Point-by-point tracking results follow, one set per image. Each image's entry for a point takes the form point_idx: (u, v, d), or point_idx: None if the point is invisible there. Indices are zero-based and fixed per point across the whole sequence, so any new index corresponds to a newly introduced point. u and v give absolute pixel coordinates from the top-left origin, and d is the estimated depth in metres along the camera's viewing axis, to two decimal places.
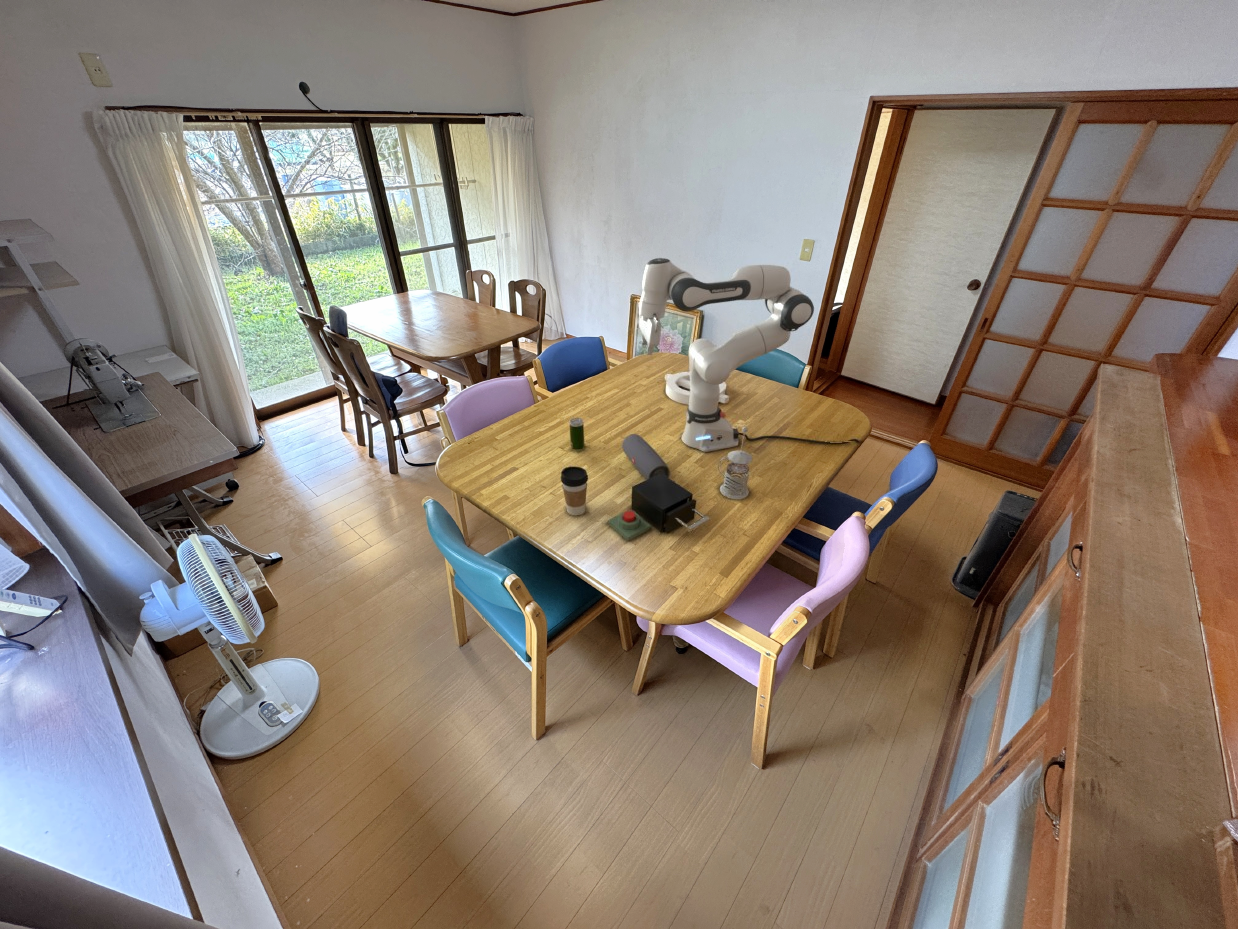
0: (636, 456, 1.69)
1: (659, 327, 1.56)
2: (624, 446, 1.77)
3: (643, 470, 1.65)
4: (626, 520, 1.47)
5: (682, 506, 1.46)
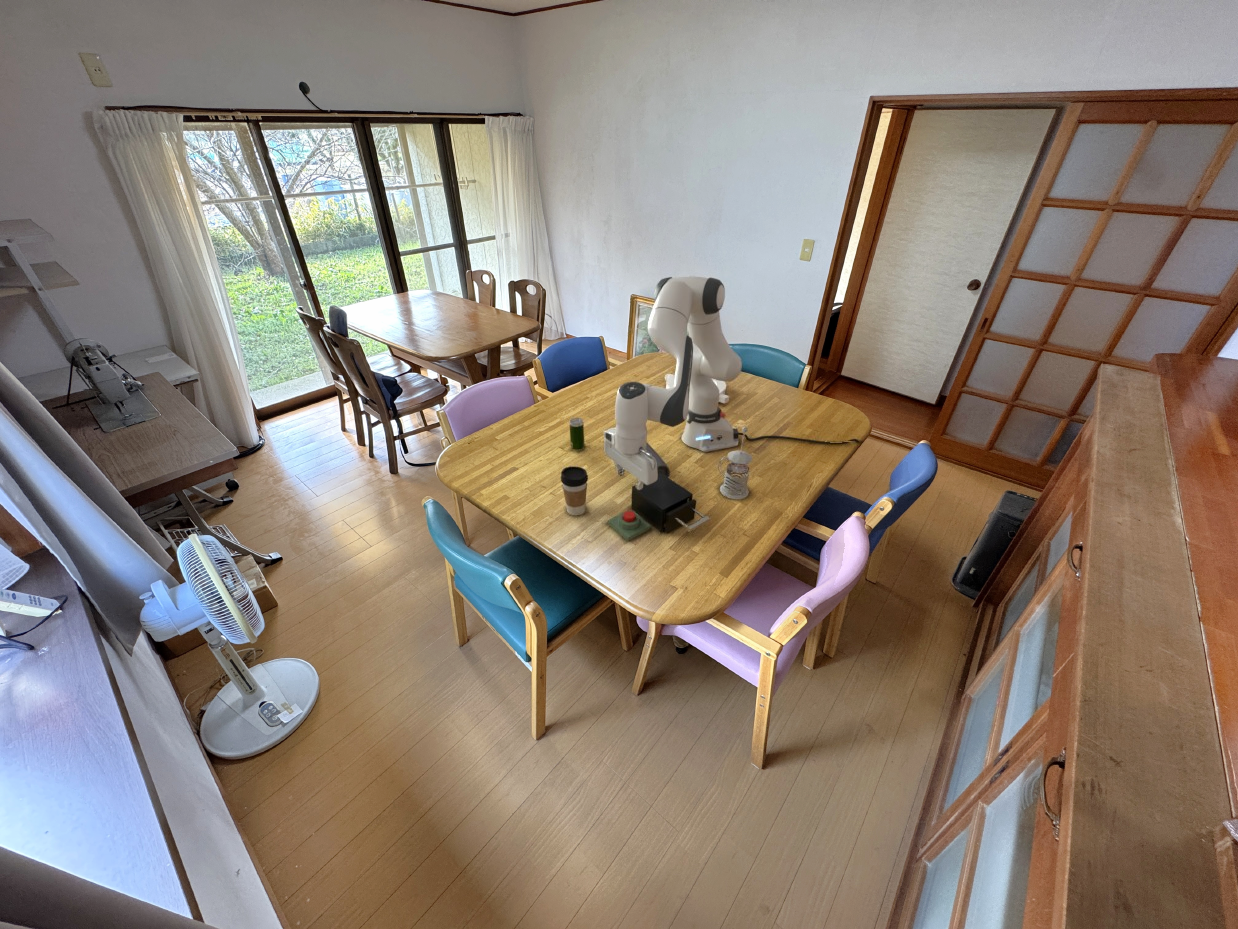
0: None
1: None
2: None
3: None
4: (626, 520, 1.47)
5: (682, 506, 1.46)
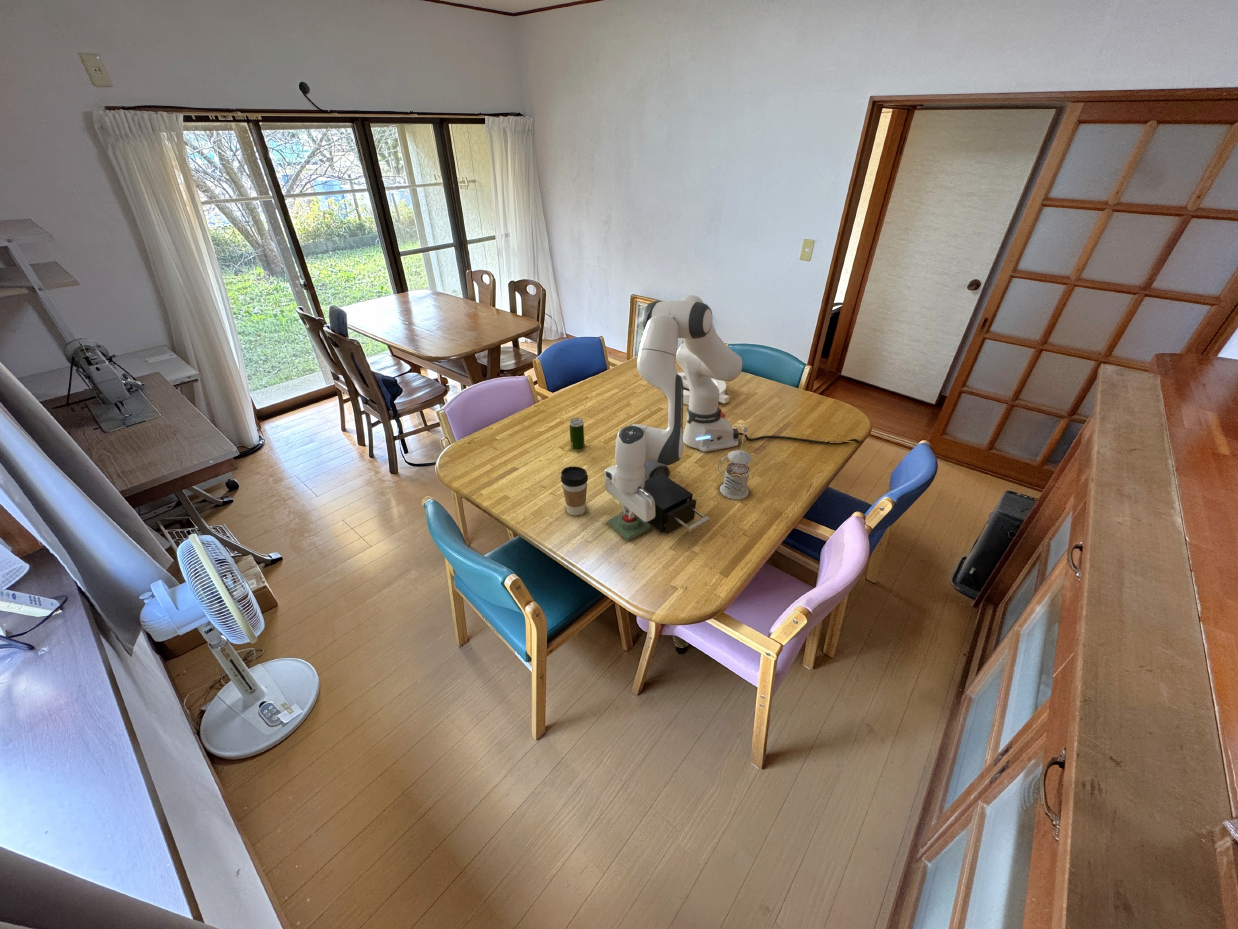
0: None
1: None
2: None
3: None
4: None
5: (682, 506, 1.46)
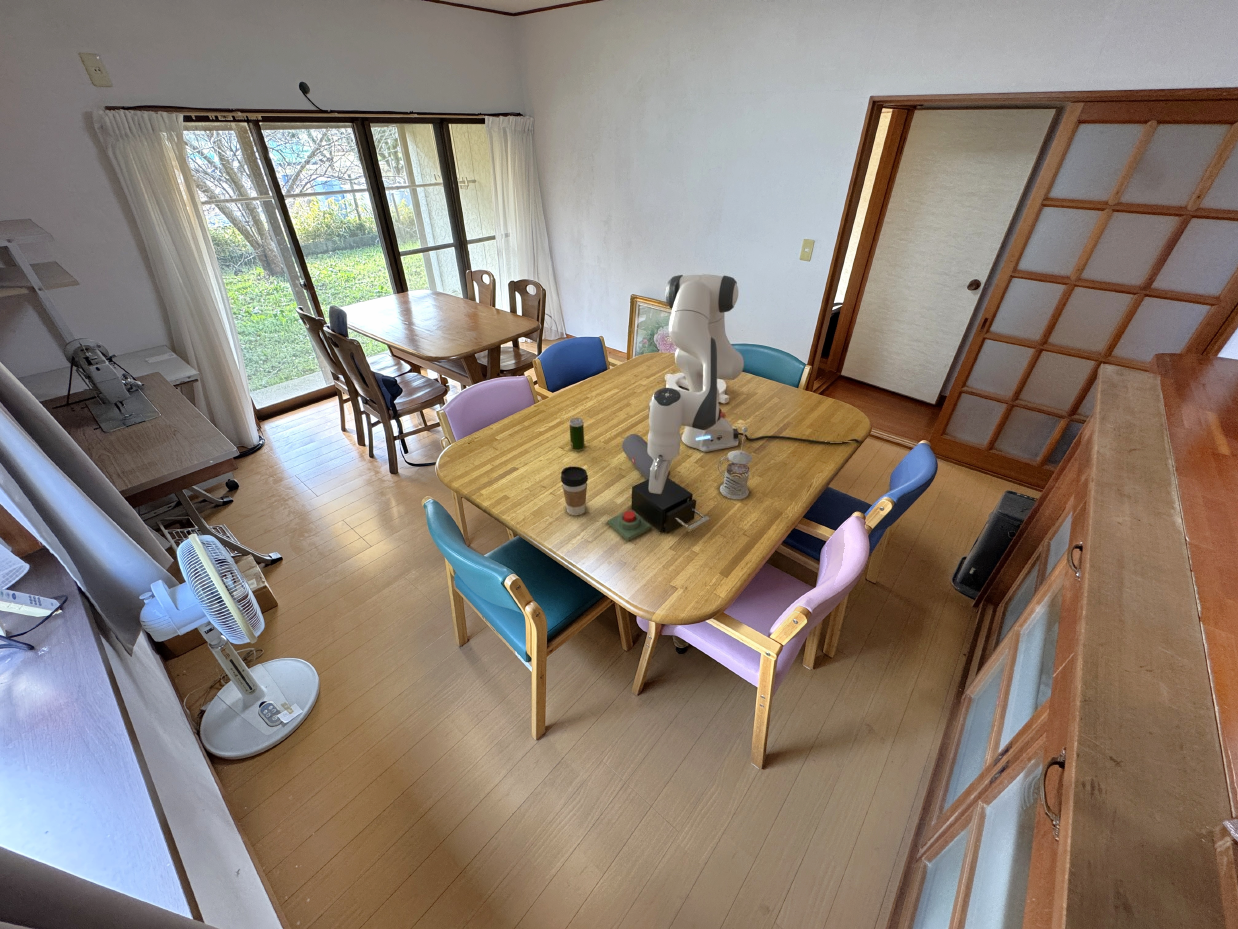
0: (636, 456, 1.69)
1: (660, 474, 1.26)
2: (624, 446, 1.77)
3: (643, 470, 1.65)
4: (626, 520, 1.47)
5: (682, 506, 1.46)
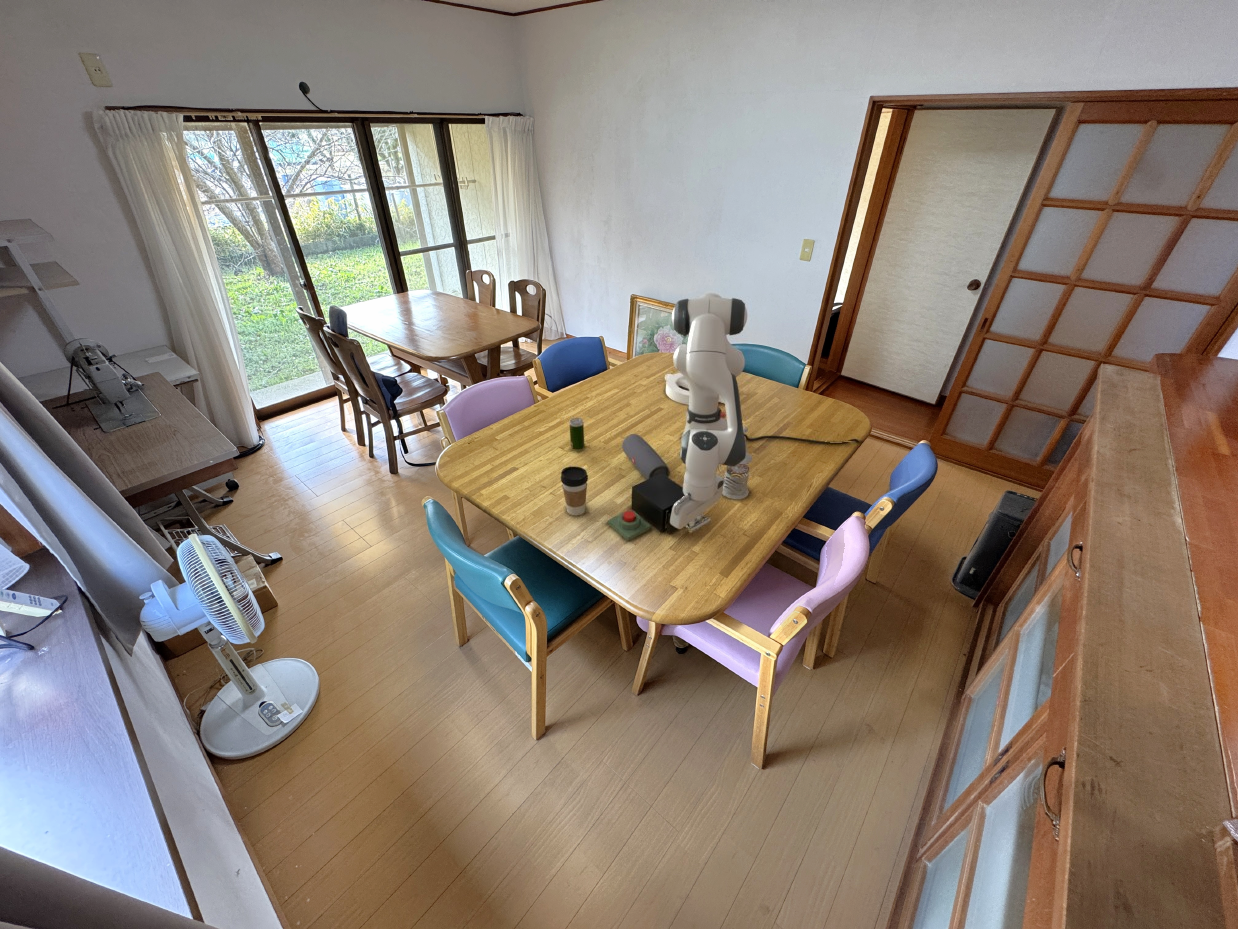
0: (636, 456, 1.69)
1: (680, 511, 1.31)
2: (624, 446, 1.77)
3: (643, 470, 1.65)
4: (626, 520, 1.47)
5: None
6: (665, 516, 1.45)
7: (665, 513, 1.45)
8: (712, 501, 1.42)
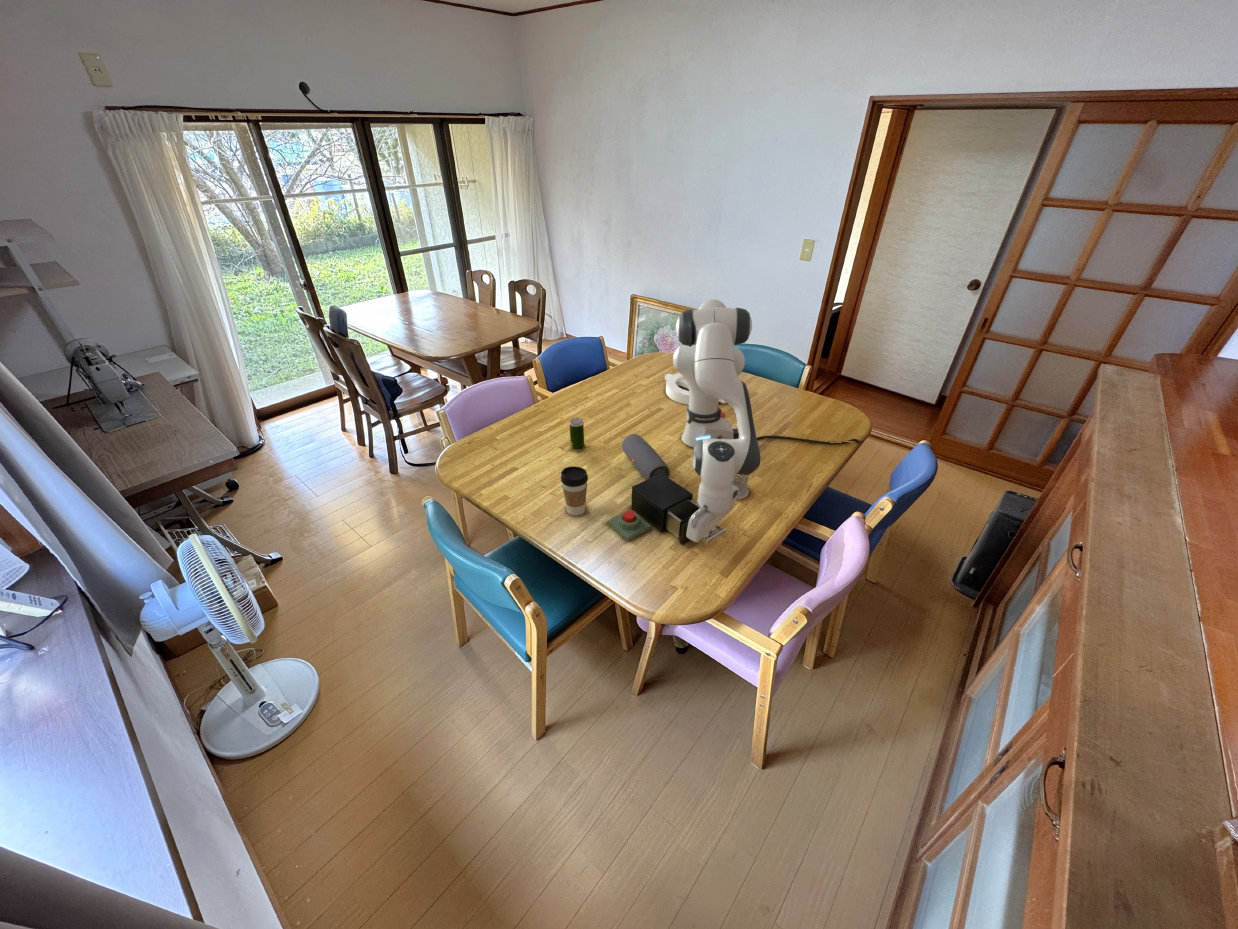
0: (636, 456, 1.69)
1: (697, 524, 1.27)
2: (624, 446, 1.77)
3: (643, 470, 1.65)
4: (626, 520, 1.47)
5: None
6: (678, 526, 1.42)
7: (678, 523, 1.41)
8: (726, 511, 1.39)
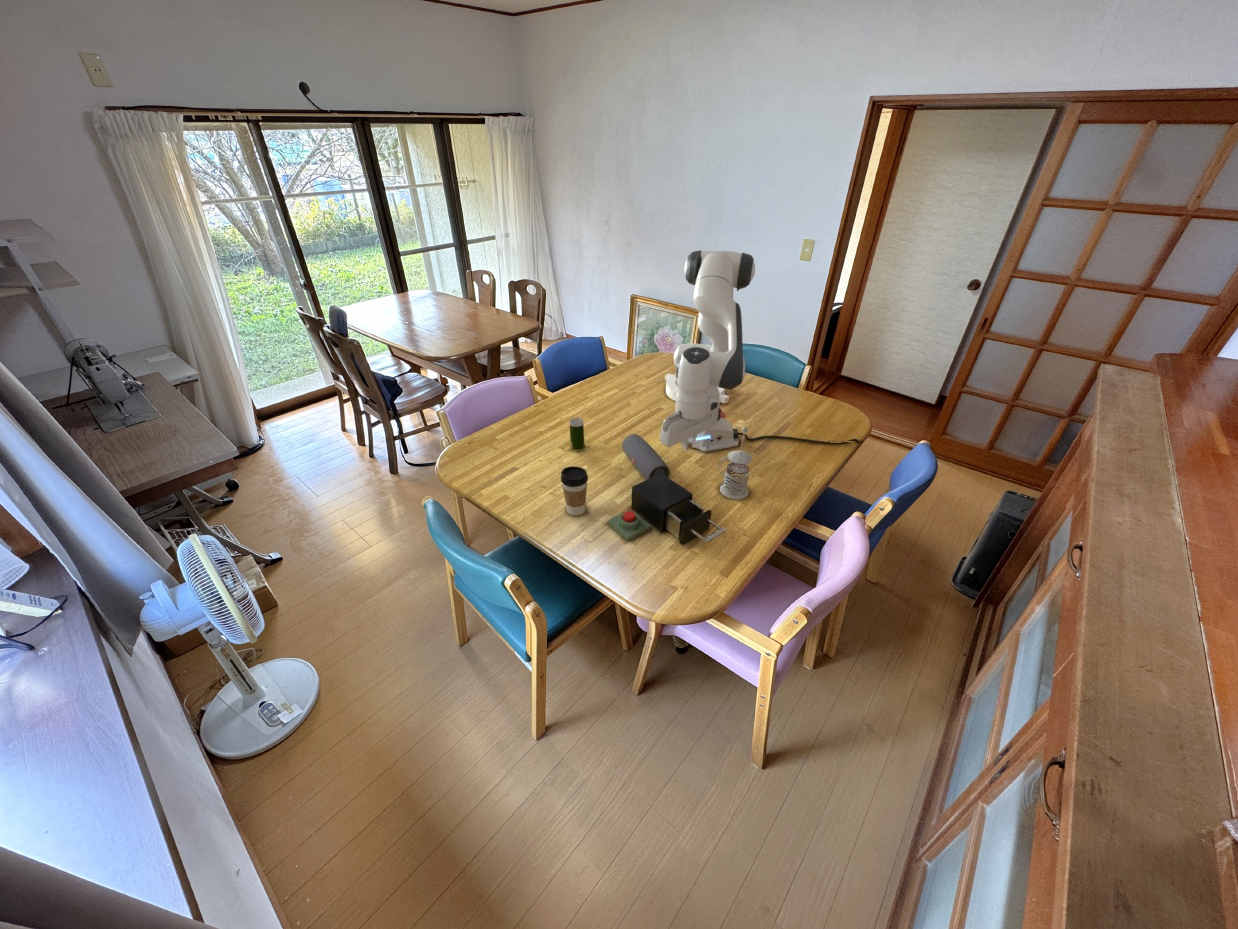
0: (636, 456, 1.69)
1: (669, 427, 1.31)
2: (624, 446, 1.77)
3: (643, 470, 1.65)
4: (626, 520, 1.47)
5: (697, 517, 1.41)
6: (678, 526, 1.42)
7: (678, 523, 1.41)
8: (707, 425, 1.41)
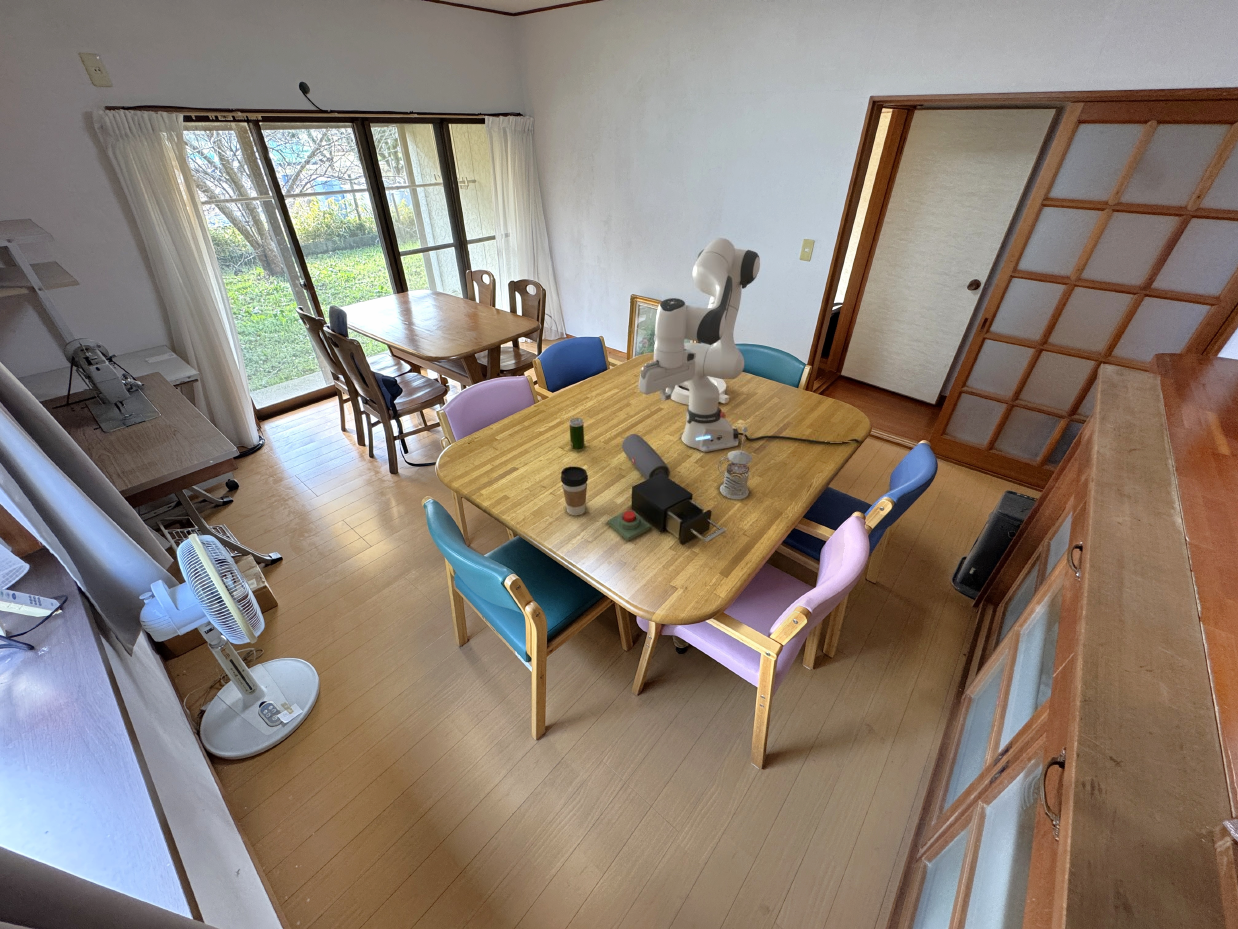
0: (636, 456, 1.69)
1: (646, 374, 1.39)
2: (624, 446, 1.77)
3: (643, 470, 1.65)
4: (626, 520, 1.47)
5: (697, 517, 1.41)
6: (678, 526, 1.42)
7: (678, 523, 1.41)
8: (684, 377, 1.48)
